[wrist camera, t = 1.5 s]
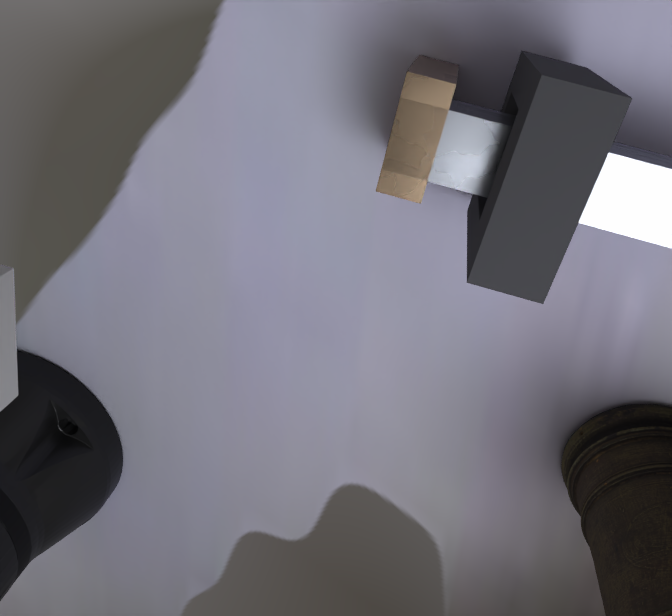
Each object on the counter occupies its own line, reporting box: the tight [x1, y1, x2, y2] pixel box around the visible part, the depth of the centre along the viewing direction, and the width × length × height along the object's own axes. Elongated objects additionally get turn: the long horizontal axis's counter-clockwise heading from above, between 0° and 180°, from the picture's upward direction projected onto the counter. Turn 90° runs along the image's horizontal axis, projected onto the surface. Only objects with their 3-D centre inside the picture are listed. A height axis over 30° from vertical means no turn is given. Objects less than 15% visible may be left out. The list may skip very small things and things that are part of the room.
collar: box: [467, 51, 632, 304], centre depth 26 cm, size 3×8×9 cm, turn 167°
